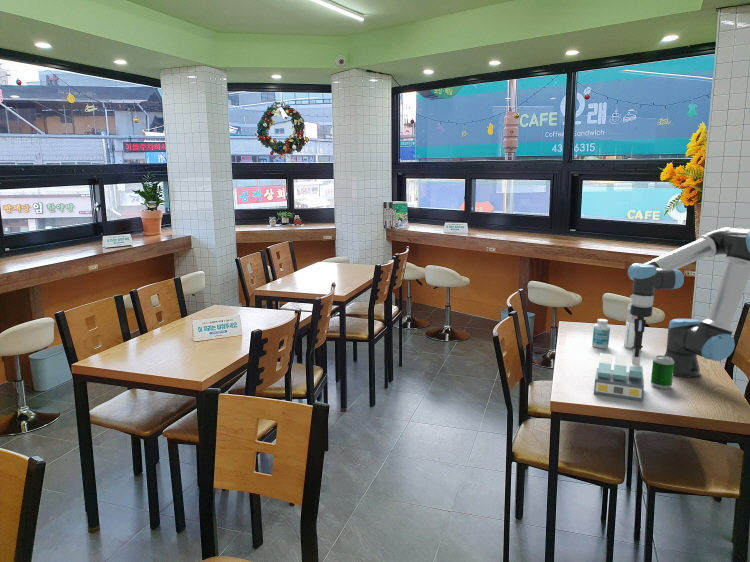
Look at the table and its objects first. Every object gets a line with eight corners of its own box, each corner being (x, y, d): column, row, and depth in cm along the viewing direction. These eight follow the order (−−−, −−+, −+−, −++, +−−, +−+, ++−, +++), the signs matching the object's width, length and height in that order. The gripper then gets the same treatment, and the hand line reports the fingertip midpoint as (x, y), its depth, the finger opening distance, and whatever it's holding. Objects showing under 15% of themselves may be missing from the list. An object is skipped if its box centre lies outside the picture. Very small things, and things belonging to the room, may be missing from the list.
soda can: (670, 391, 223) (673, 361, 221) (649, 387, 227) (652, 358, 224) (672, 385, 229) (675, 356, 227) (651, 381, 233) (654, 353, 231)
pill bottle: (591, 347, 278) (593, 320, 276) (592, 343, 285) (594, 317, 282) (608, 349, 275) (610, 322, 273) (608, 345, 282) (610, 319, 279)
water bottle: (640, 346, 280) (644, 297, 275) (637, 350, 274) (642, 299, 270) (625, 344, 284) (629, 295, 279) (622, 348, 278) (627, 298, 273)
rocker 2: (626, 361, 225) (627, 356, 224) (625, 380, 216) (626, 376, 214) (614, 359, 227) (615, 355, 226) (613, 379, 217) (613, 374, 216)
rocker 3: (641, 369, 223) (642, 363, 223) (642, 378, 212) (642, 372, 212) (629, 367, 225) (629, 361, 224) (629, 376, 214) (629, 370, 214)
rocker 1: (611, 359, 227) (612, 354, 226) (609, 378, 218) (610, 373, 217) (600, 357, 229) (600, 353, 228) (597, 377, 220) (597, 372, 218)
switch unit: (641, 388, 225) (643, 369, 224) (642, 401, 212) (644, 381, 211) (595, 382, 232) (597, 363, 231) (593, 394, 219) (595, 374, 218)
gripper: (631, 300, 225) (625, 357, 230) (630, 307, 214) (624, 367, 218) (652, 302, 222) (645, 360, 227) (653, 309, 211) (646, 370, 215)
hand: (635, 364), depth 222 cm, fingers closed
